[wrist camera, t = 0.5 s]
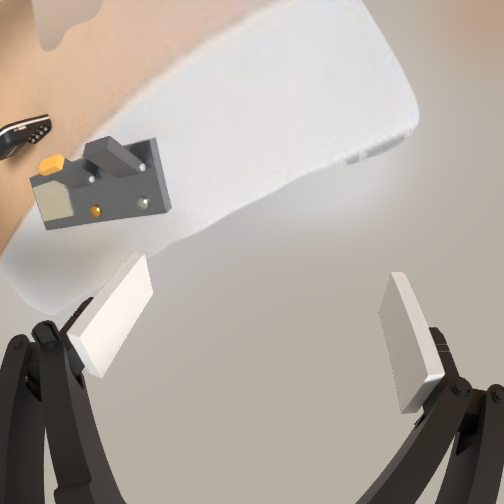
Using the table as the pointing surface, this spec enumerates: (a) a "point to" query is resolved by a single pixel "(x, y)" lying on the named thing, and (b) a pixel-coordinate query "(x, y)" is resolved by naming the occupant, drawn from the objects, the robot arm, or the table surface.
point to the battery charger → (22, 134)
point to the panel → (105, 192)
